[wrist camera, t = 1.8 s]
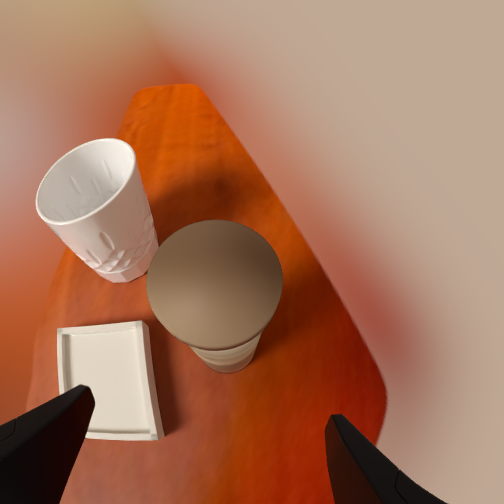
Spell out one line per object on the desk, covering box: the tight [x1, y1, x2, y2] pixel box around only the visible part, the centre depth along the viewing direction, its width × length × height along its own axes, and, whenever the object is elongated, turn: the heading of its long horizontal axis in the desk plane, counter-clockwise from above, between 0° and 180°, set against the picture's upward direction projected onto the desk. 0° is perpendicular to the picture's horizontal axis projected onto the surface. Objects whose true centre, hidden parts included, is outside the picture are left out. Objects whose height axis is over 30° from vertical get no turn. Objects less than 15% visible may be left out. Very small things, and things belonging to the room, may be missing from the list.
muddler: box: [146, 220, 283, 374], centre depth 15 cm, size 5×5×13 cm
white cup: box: [36, 138, 159, 283], centre depth 20 cm, size 8×8×10 cm
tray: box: [57, 320, 165, 440], centre depth 17 cm, size 9×8×2 cm
